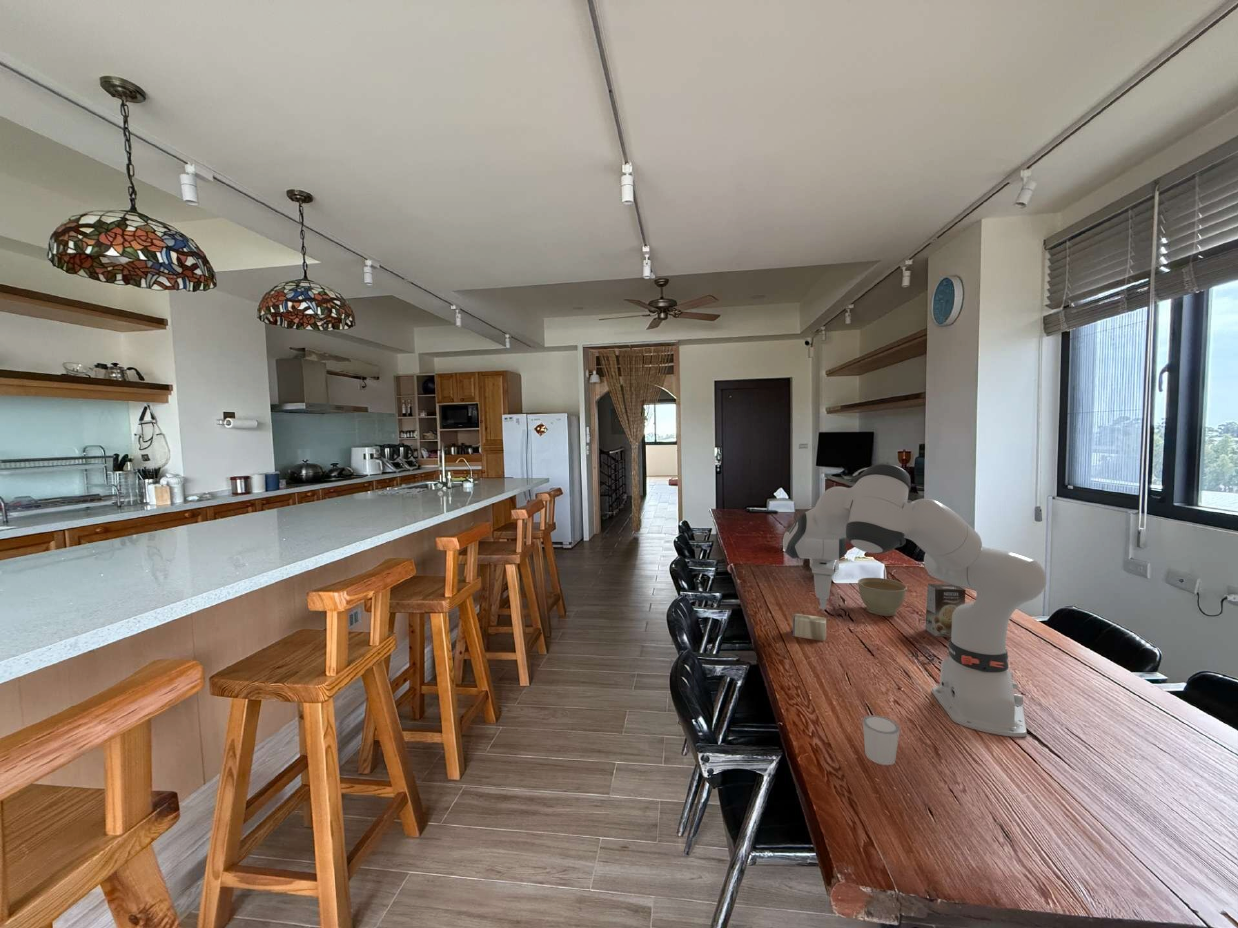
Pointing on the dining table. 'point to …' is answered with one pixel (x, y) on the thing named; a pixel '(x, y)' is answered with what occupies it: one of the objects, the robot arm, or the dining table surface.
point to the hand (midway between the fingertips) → (823, 603)
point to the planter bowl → (882, 595)
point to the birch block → (809, 627)
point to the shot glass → (880, 739)
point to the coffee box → (942, 607)
